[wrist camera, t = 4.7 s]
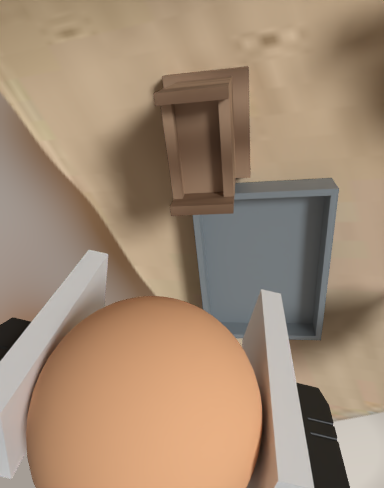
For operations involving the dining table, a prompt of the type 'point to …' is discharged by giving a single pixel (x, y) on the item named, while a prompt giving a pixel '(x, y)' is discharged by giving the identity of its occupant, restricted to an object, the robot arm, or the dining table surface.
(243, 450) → the ball
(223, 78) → the stand
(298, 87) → the dining table surface
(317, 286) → the tray
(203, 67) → the dining table surface
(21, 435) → the robot arm
